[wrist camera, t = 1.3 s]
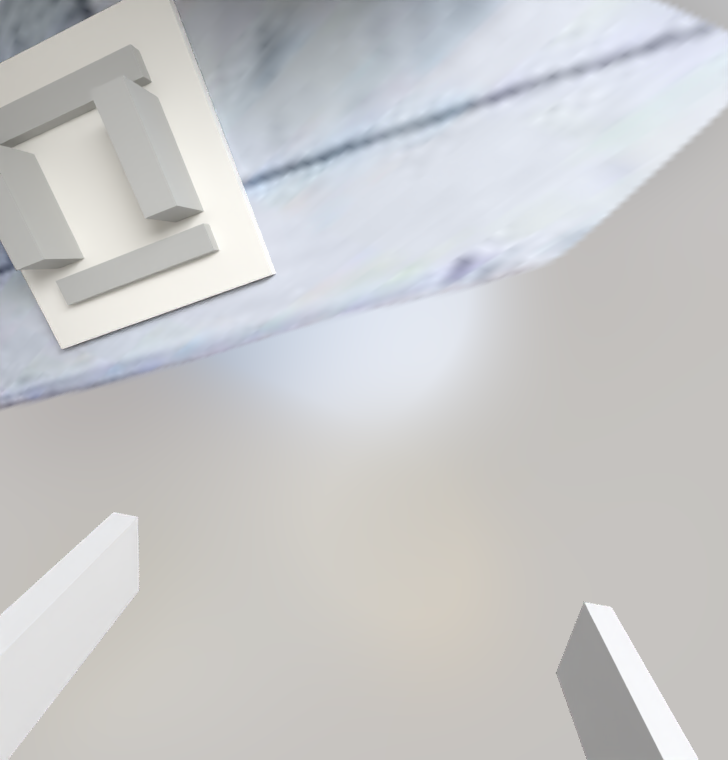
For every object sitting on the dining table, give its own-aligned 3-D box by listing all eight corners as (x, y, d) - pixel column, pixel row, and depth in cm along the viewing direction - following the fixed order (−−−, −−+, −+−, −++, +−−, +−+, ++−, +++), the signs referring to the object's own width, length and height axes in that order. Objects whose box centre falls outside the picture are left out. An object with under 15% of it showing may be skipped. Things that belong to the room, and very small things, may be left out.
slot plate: (-56, 103, 33) (-135, 77, 28) (169, -11, 29) (123, -63, 25) (70, 346, 38) (22, 360, 33) (276, 273, 34) (255, 277, 29)
